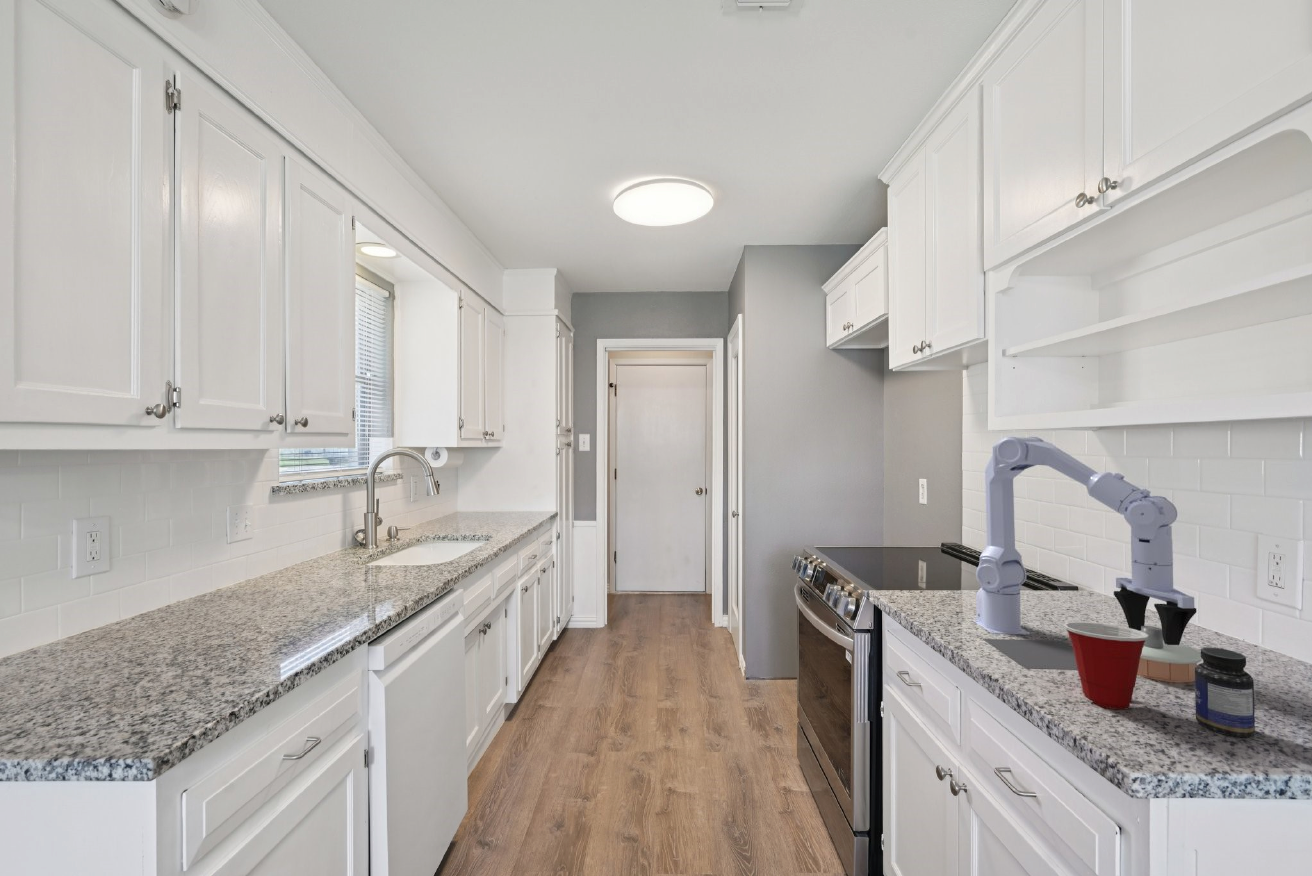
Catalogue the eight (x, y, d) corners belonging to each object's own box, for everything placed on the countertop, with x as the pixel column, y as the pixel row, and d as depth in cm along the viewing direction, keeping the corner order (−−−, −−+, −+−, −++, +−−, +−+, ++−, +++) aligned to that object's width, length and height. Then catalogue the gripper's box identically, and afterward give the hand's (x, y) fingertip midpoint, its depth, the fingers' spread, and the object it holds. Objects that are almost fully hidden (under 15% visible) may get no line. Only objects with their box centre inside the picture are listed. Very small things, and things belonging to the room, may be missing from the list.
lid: (1089, 638, 109) (1089, 617, 109) (1158, 638, 109) (1158, 617, 109) (1144, 663, 96) (1144, 640, 96) (1223, 664, 96) (1223, 640, 96)
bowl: (1101, 660, 108) (1100, 639, 108) (1162, 661, 107) (1161, 640, 107) (1145, 683, 97) (1145, 660, 98) (1213, 685, 96) (1213, 662, 97)
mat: (982, 641, 119) (982, 638, 119) (1061, 643, 118) (1061, 640, 118) (1025, 670, 103) (1025, 668, 103) (1117, 673, 102) (1117, 670, 102)
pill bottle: (1198, 714, 86) (1196, 642, 87) (1256, 729, 82) (1254, 653, 82) (1193, 727, 82) (1191, 652, 82) (1254, 743, 78) (1252, 663, 78)
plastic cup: (1127, 691, 95) (1125, 619, 95) (1166, 721, 84) (1164, 640, 85) (1053, 684, 98) (1052, 615, 98) (1082, 712, 87) (1080, 635, 87)
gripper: (1099, 555, 110) (1100, 624, 110) (1163, 571, 96) (1165, 651, 95) (1136, 555, 110) (1137, 624, 110) (1206, 571, 95) (1208, 651, 95)
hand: (1153, 637), depth 103 cm, fingers open, 7 cm apart
